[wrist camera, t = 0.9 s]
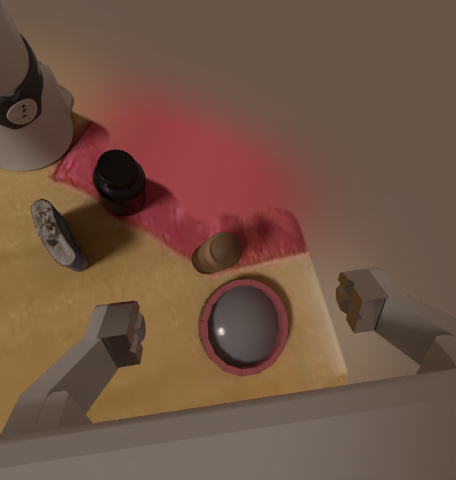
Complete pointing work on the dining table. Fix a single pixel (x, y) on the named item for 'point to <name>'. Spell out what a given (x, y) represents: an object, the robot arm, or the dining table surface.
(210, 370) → the dining table surface
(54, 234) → the flask
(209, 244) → the pepper mill
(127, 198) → the supplement bottle
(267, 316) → the round tray
